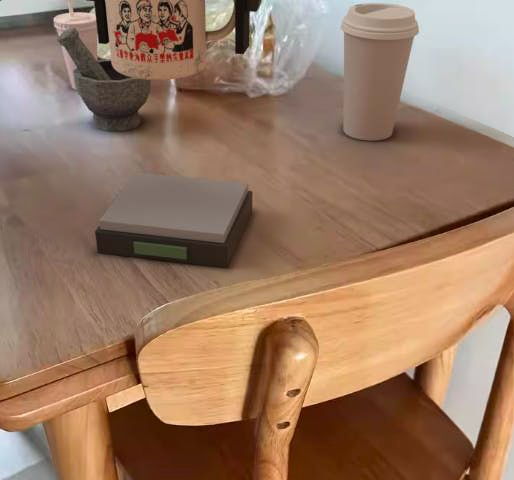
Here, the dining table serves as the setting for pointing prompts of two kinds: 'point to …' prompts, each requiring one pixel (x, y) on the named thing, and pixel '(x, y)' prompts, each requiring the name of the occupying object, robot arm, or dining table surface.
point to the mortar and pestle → (105, 87)
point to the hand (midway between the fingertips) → (174, 45)
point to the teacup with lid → (160, 37)
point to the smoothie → (87, 34)
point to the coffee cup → (375, 66)
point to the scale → (176, 220)
